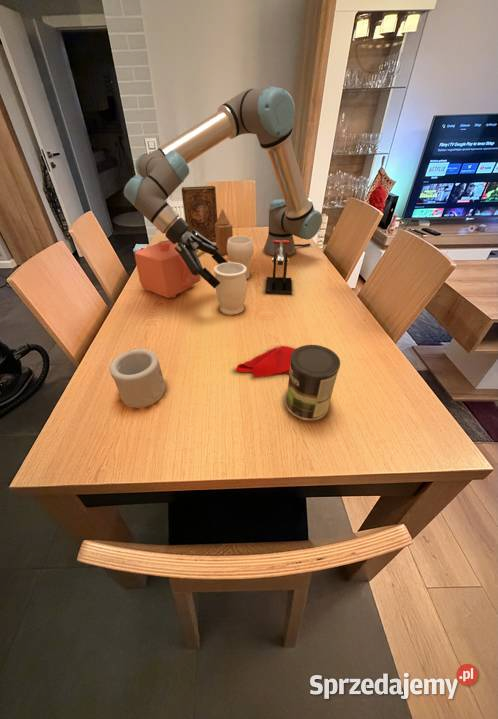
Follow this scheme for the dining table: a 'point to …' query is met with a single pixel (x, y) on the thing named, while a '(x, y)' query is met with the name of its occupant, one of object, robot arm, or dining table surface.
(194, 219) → the book
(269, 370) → the cloth
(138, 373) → the grey hollow cylinder
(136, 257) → the teapot
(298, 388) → the coffee can
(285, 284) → the lever stand
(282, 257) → the corkscrew
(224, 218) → the decorative item
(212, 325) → the dining table surface
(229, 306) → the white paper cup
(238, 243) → the cup
